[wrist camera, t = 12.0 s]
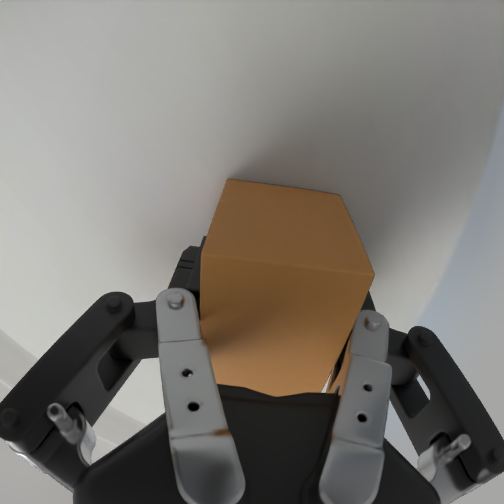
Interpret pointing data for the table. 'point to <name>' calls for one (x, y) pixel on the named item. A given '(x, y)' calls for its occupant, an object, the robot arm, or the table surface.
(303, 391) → the cardboard box
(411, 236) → the table surface
